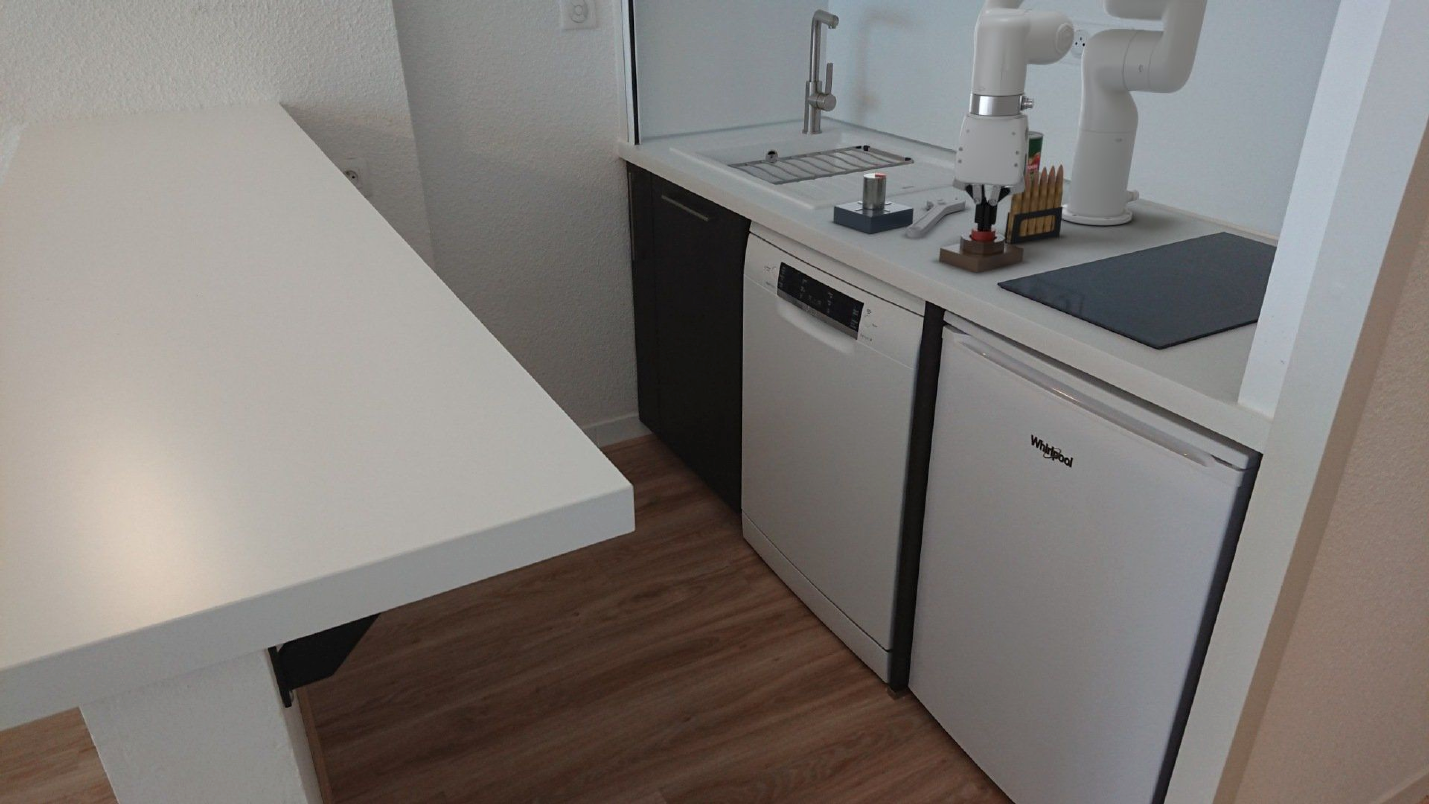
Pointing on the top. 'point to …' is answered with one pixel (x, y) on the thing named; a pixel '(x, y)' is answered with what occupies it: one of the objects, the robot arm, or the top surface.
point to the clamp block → (873, 216)
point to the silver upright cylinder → (874, 191)
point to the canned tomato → (1034, 151)
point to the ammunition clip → (1036, 208)
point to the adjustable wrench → (934, 215)
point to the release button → (983, 234)
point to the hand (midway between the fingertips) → (984, 228)
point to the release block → (981, 253)
